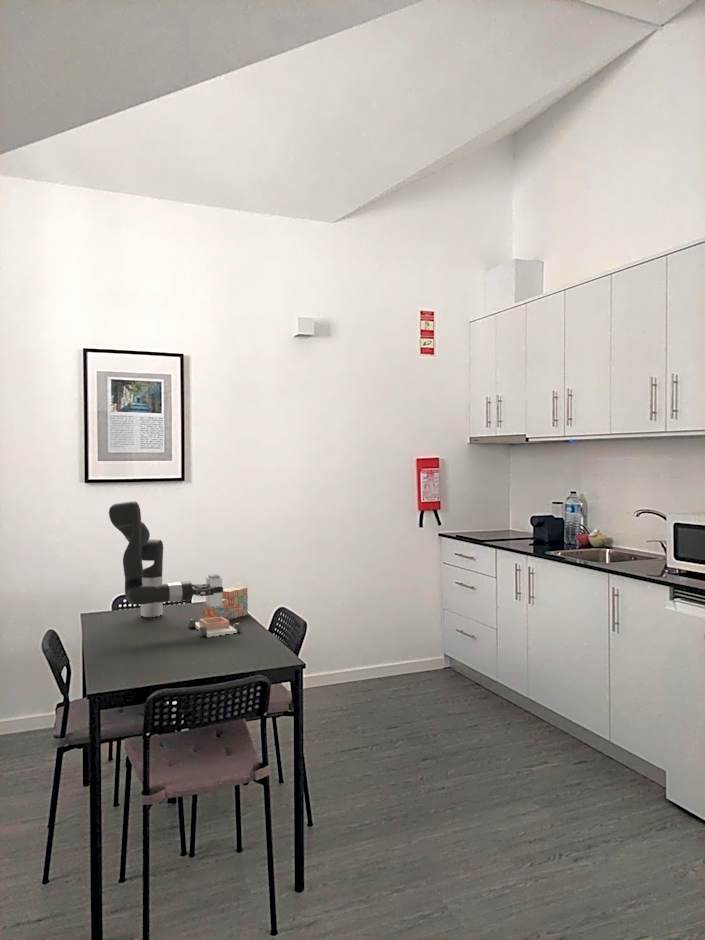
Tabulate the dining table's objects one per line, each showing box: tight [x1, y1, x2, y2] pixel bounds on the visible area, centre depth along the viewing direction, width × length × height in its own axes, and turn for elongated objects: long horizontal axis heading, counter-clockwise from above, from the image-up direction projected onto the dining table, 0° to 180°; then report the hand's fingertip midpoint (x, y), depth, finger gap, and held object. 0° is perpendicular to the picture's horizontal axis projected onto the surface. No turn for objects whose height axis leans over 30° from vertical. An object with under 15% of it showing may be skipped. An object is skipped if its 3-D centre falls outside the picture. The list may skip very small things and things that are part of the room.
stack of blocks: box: [203, 586, 249, 620], centre depth 320 cm, size 21×6×12 cm, turn 148°
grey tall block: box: [205, 573, 223, 607], centre depth 300 cm, size 5×5×12 cm
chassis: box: [187, 615, 242, 638], centre depth 300 cm, size 20×16×4 cm
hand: (220, 588), depth 301 cm, fingers closed on grey tall block, 5 cm apart
